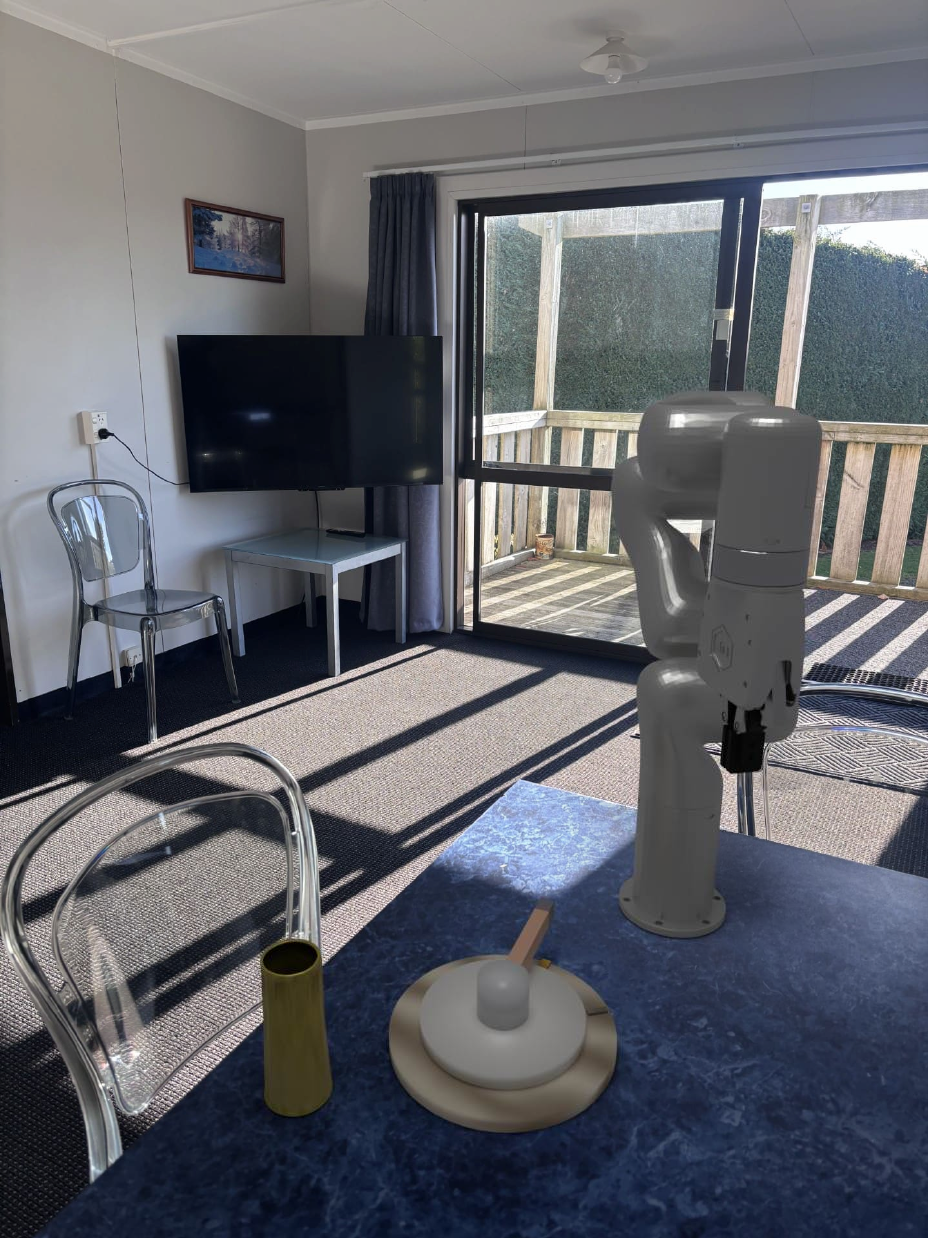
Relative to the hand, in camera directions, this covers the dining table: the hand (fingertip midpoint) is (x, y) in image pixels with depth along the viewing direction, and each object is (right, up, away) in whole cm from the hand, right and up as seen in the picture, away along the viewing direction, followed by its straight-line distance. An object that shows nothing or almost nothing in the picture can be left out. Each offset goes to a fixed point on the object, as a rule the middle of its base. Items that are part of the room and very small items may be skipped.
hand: (740, 768), depth 79 cm
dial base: (-21, -28, +8) cm, 36 cm away
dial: (-19, -25, +11) cm, 34 cm away
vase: (-39, -30, +2) cm, 50 cm away
